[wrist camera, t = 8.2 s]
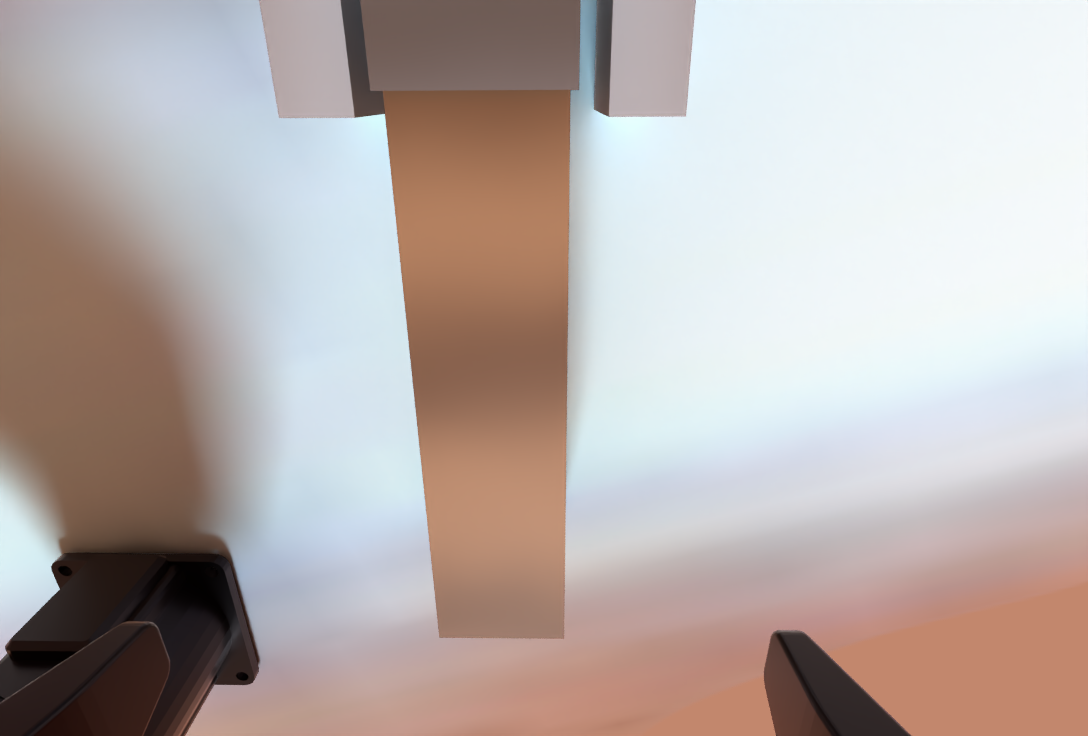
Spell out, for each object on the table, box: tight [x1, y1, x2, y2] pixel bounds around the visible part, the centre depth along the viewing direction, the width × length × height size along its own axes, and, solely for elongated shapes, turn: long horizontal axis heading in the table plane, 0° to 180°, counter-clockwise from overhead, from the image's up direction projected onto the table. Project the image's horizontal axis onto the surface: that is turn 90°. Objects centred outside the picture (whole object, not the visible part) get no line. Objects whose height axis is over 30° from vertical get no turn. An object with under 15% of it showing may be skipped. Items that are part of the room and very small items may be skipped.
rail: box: [360, 0, 580, 639], centre depth 16 cm, size 16×4×6 cm, turn 0°
